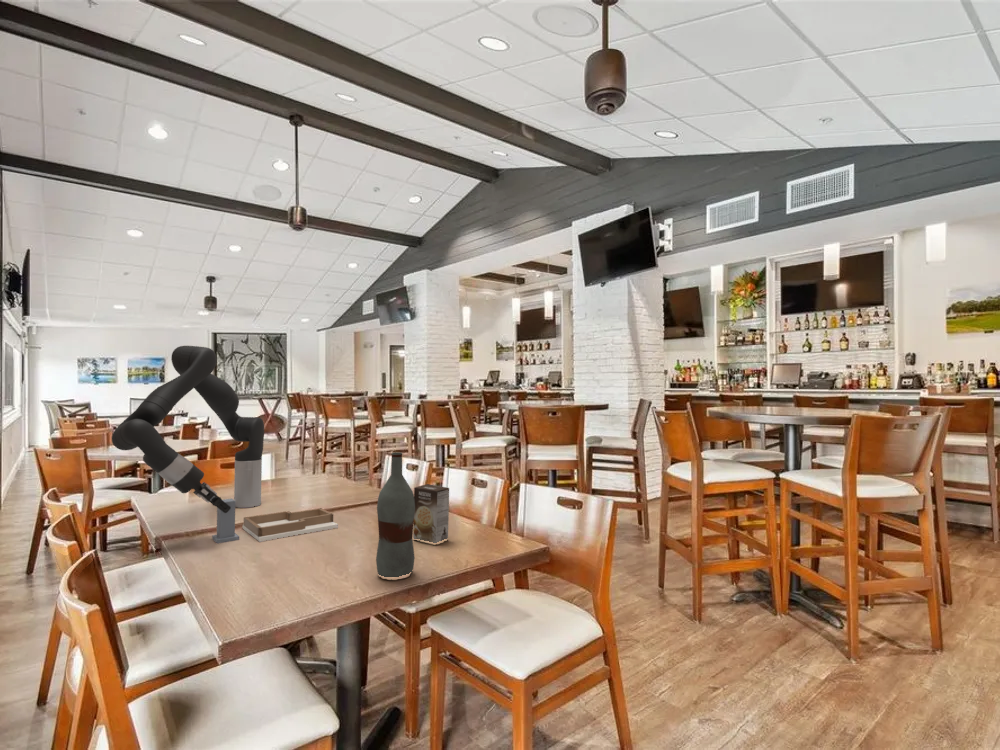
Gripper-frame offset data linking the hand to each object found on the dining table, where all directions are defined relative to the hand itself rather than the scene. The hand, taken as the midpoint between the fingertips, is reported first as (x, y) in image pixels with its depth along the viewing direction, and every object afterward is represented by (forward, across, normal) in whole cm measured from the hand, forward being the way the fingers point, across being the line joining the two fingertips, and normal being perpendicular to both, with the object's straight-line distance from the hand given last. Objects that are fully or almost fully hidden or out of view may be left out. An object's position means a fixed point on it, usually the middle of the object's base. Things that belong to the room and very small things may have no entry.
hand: (224, 507), depth 158 cm
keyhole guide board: (+20, 0, -7) cm, 22 cm away
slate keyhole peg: (+7, 0, +6) cm, 9 cm away
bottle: (+25, -57, -11) cm, 63 cm away
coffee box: (+40, -39, -27) cm, 62 cm away
